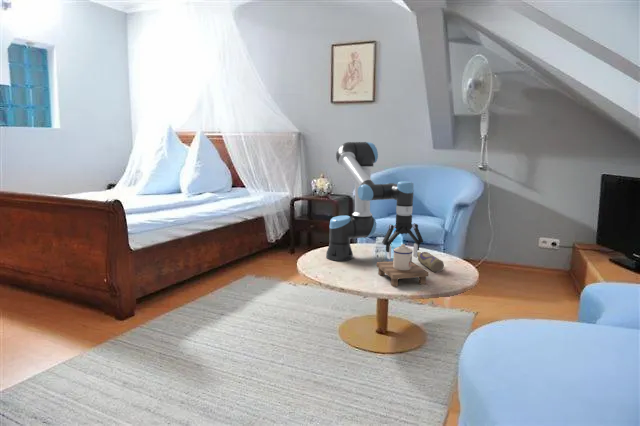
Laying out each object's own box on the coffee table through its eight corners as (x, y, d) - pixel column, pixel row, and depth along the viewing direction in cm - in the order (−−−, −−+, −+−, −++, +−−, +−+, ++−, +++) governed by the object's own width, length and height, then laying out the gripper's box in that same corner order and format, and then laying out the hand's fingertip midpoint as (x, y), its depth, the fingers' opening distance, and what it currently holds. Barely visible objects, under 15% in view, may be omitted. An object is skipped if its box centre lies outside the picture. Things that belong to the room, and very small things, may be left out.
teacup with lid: (413, 271, 202) (414, 247, 200) (393, 270, 202) (394, 246, 200) (409, 263, 213) (410, 241, 211) (391, 263, 214) (392, 240, 212)
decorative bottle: (444, 272, 220) (445, 259, 219) (430, 273, 219) (431, 260, 218) (424, 258, 245) (424, 246, 244) (411, 258, 244) (412, 247, 243)
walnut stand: (376, 273, 216) (376, 262, 215) (409, 271, 221) (409, 260, 220) (392, 287, 197) (392, 274, 196) (427, 284, 202) (428, 272, 201)
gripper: (382, 216, 197) (380, 261, 201) (432, 214, 203) (429, 258, 206) (376, 213, 204) (375, 257, 208) (424, 212, 210) (422, 254, 214)
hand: (402, 257), depth 207 cm, fingers open, 13 cm apart
